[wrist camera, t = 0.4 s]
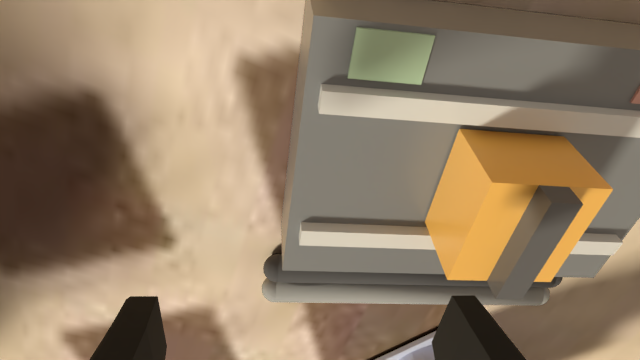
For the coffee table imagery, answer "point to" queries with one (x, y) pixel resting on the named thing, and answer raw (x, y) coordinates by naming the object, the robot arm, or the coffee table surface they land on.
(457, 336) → the robot arm
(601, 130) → the breaker deck
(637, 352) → the coffee table surface
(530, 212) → the breaker toggle
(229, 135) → the coffee table surface
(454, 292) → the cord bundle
